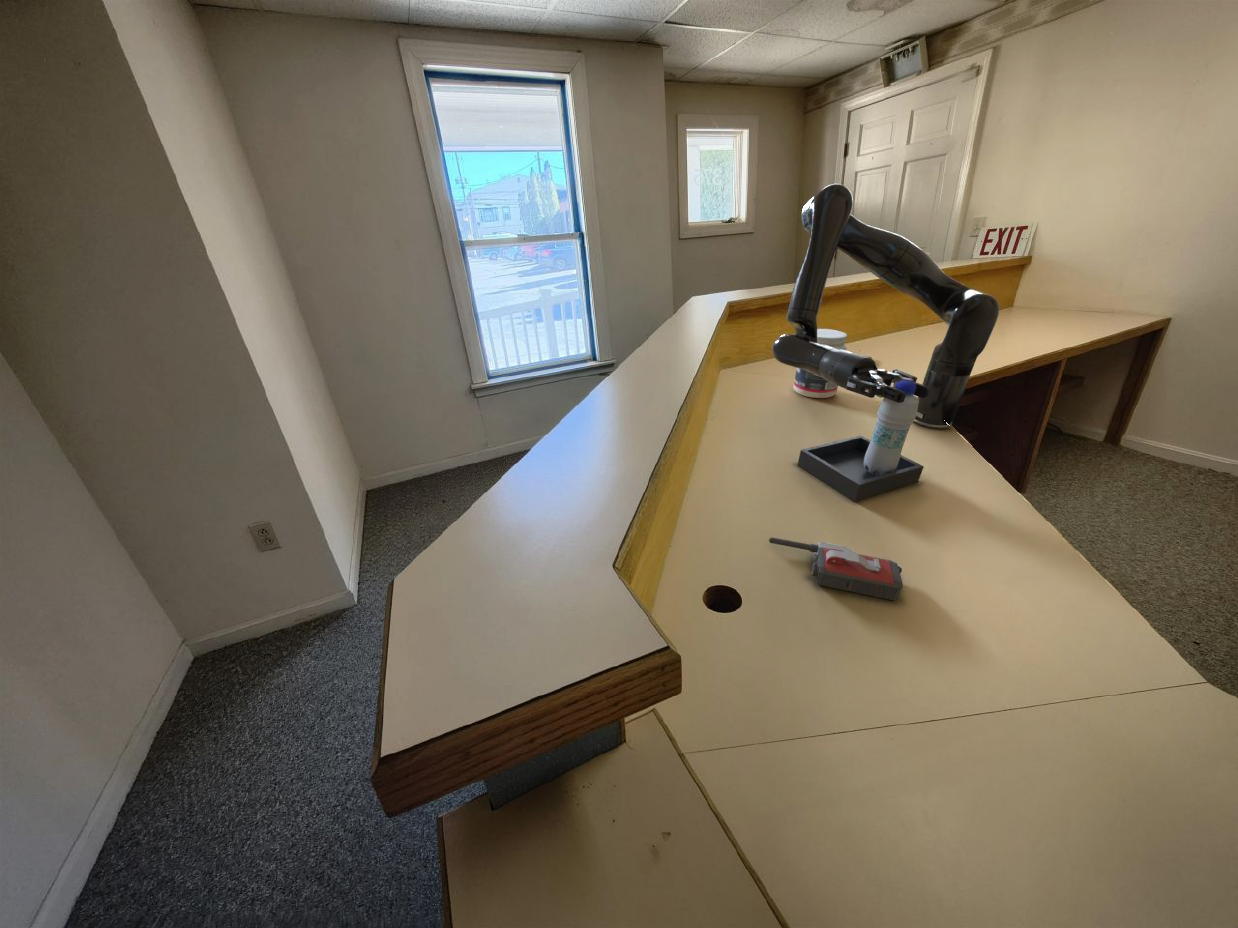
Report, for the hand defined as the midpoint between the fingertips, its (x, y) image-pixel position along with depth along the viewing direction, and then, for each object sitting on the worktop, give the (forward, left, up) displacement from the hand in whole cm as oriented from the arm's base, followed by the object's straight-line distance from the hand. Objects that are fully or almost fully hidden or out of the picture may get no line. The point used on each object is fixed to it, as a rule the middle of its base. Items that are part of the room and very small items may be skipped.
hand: (915, 395), depth 86 cm
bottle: (0, -3, -18) cm, 18 cm away
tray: (+3, -5, -20) cm, 20 cm away
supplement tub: (-25, -47, -20) cm, 57 cm away
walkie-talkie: (+31, +16, -20) cm, 40 cm away
